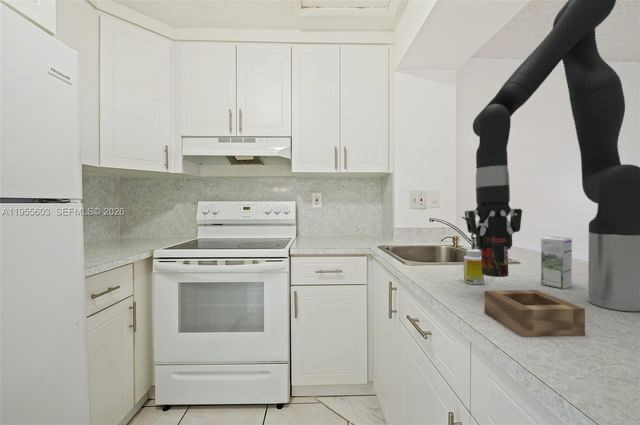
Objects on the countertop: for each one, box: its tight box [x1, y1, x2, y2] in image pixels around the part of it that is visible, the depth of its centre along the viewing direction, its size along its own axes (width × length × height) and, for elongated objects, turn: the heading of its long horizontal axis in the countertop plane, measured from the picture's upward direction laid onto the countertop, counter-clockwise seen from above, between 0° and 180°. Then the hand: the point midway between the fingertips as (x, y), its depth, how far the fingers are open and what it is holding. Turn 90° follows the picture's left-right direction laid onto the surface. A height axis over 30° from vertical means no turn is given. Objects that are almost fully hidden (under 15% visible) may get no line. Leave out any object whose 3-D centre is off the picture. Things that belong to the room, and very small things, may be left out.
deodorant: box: [479, 216, 509, 278], centre depth 76 cm, size 6×6×15 cm
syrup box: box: [540, 235, 573, 290], centre depth 86 cm, size 6×6×14 cm
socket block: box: [483, 289, 586, 337], centre depth 60 cm, size 12×12×5 cm
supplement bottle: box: [463, 249, 485, 285], centre depth 91 cm, size 6×6×10 cm
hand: (494, 249), depth 76 cm, fingers closed on deodorant, 6 cm apart
